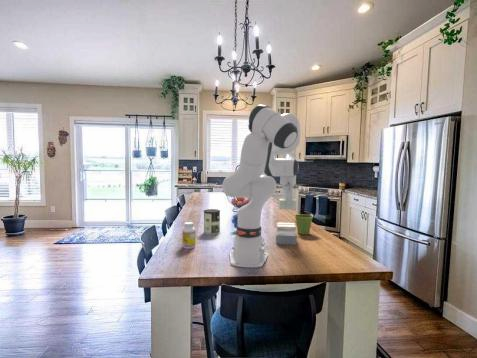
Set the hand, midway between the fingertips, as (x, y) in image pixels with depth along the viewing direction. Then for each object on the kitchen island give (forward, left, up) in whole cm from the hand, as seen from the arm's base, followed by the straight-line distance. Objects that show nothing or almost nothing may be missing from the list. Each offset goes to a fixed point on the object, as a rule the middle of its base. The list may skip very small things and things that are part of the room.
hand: (287, 205), depth 152 cm
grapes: (+18, +28, -21) cm, 39 cm away
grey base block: (0, 0, -21) cm, 21 cm away
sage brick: (0, 0, -2) cm, 2 cm away
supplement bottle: (-18, +52, -21) cm, 59 cm away
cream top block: (-1, 0, -16) cm, 16 cm away
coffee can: (+12, +46, -21) cm, 52 cm away
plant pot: (+19, -12, -21) cm, 30 cm away
